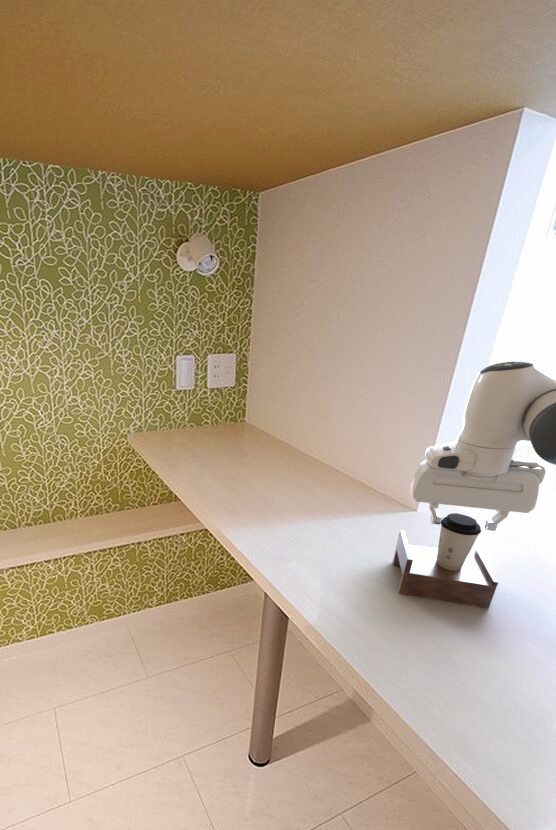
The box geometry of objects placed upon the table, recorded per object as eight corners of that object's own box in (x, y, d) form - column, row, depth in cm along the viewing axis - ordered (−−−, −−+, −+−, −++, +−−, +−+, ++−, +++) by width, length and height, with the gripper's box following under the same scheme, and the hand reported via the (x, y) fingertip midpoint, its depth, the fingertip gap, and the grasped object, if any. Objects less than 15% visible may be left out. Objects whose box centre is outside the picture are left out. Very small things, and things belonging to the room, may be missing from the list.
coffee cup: (476, 570, 85) (492, 525, 81) (449, 576, 83) (464, 530, 78) (448, 552, 91) (461, 509, 87) (422, 557, 89) (434, 514, 84)
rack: (472, 574, 93) (483, 541, 89) (488, 608, 82) (501, 573, 79) (392, 561, 96) (400, 530, 93) (398, 593, 86) (407, 559, 83)
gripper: (541, 457, 77) (517, 525, 83) (417, 447, 82) (403, 512, 88) (556, 468, 72) (530, 541, 78) (423, 457, 77) (407, 526, 83)
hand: (461, 526), depth 83 cm, fingers open, 8 cm apart
